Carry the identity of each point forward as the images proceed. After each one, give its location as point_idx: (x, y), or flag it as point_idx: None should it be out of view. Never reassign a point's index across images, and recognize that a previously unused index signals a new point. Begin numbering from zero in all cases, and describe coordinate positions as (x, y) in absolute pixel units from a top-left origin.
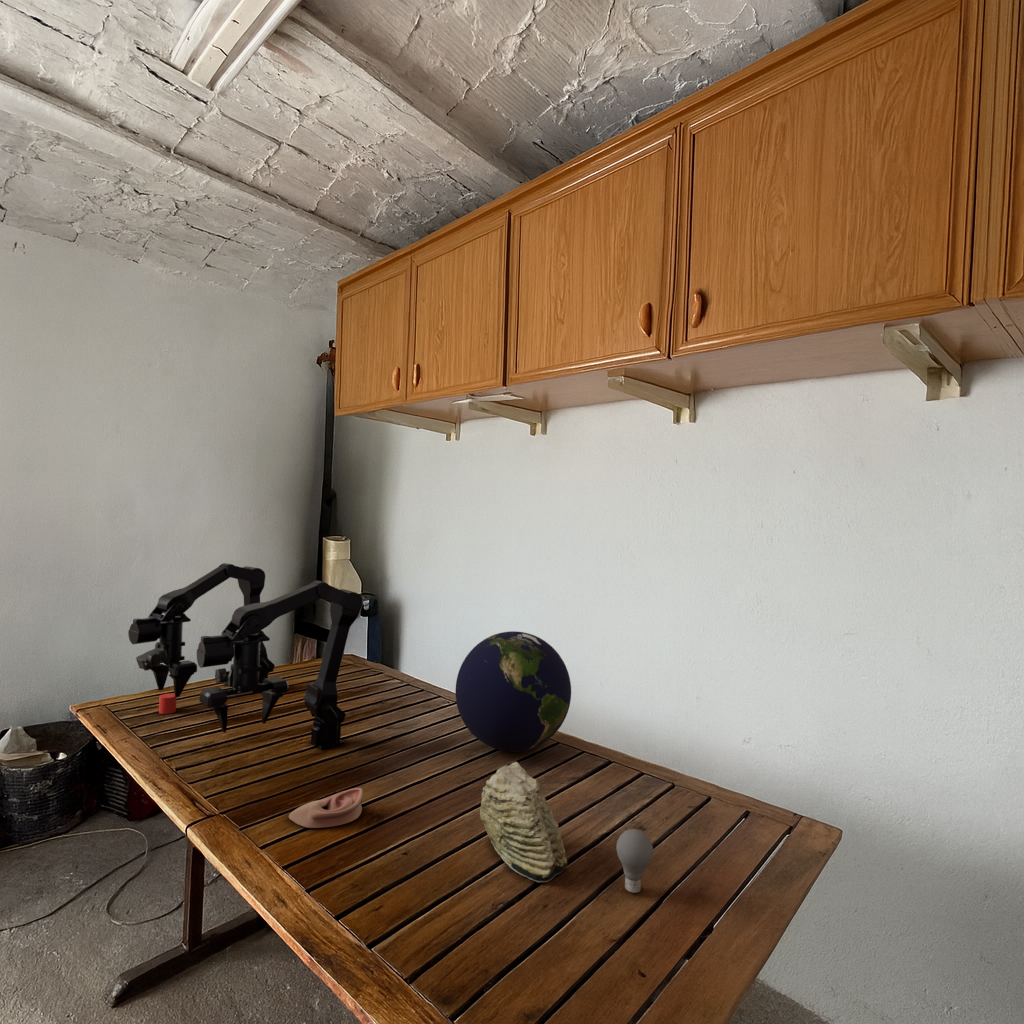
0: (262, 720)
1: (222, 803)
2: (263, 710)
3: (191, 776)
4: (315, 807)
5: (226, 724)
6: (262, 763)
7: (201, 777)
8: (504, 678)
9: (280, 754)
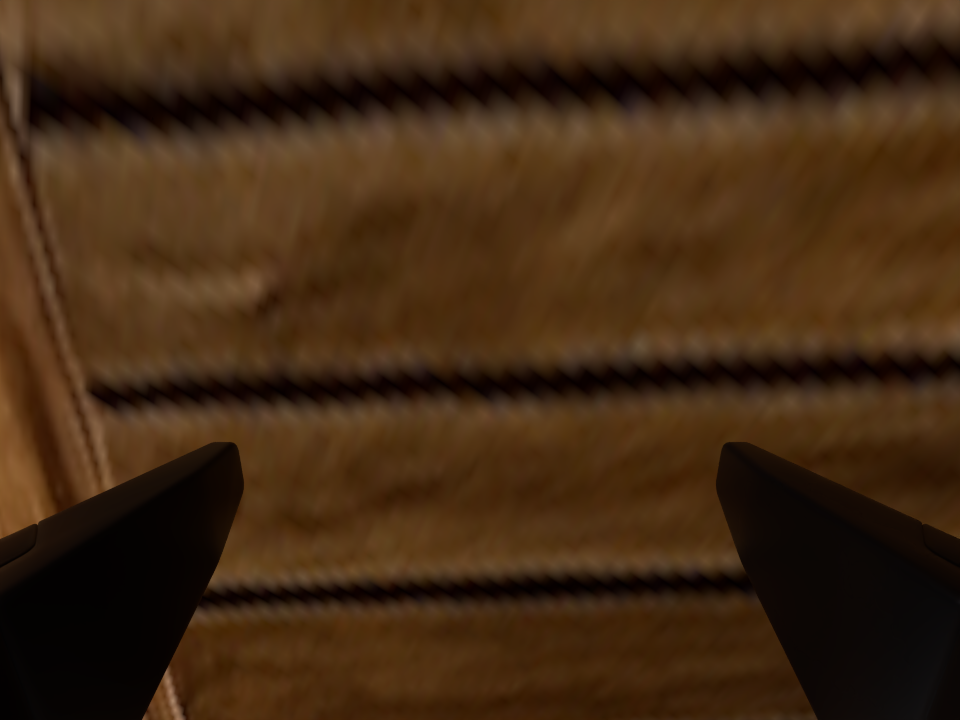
0: (733, 473)
1: (216, 693)
2: (811, 564)
3: (120, 304)
4: None
5: (192, 601)
6: (584, 396)
7: (177, 360)
8: None
9: (762, 331)
